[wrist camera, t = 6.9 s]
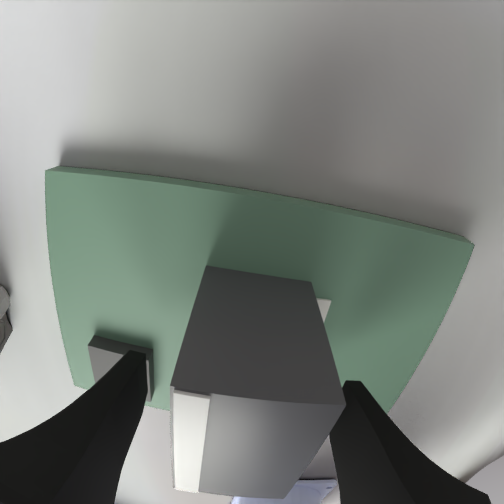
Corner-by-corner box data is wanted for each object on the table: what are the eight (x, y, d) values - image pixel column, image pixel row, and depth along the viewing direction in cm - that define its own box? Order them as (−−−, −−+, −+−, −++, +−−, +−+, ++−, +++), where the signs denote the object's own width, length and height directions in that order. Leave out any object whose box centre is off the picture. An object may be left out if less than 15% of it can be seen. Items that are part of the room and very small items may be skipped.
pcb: (374, 414, 17) (387, 458, 14) (80, 374, 16) (58, 416, 13) (463, 236, 12) (507, 270, 9) (58, 166, 11) (5, 185, 8)
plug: (277, 388, 14) (284, 501, 9) (194, 377, 14) (172, 489, 9) (311, 281, 12) (346, 407, 6) (205, 265, 12) (168, 389, 6)
